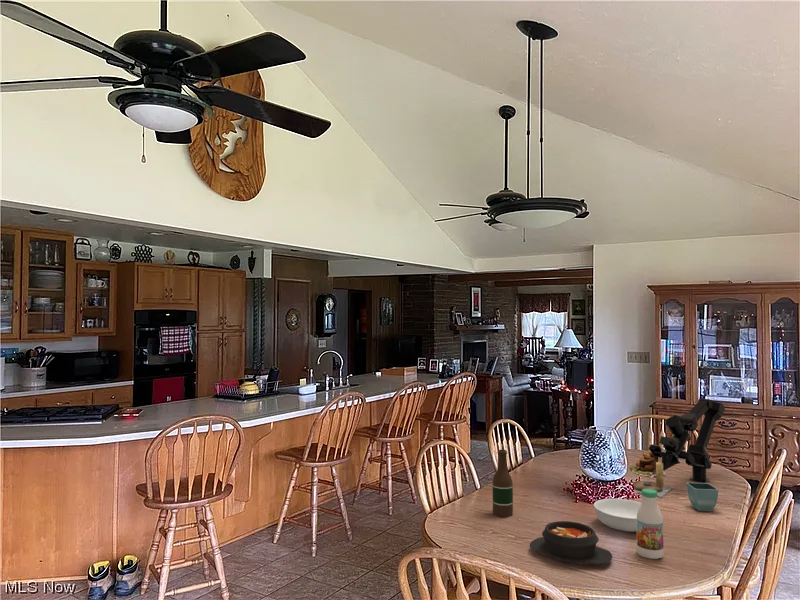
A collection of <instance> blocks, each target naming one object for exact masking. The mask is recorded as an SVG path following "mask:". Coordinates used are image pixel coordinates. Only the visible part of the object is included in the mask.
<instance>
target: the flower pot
mask: <svg viewBox="0 0 800 600" xmlns="http://www.w3.org/2000/svg"><path fill="white" fill-rule="evenodd" d="M686 491H687V497H688V499H689V502H690V503H691V506H692V507H693V508H694V509H696V510H697V511H699V512H700V511H703V512H712V511H714V508H716V505H717V503H718V496H719V489H718V488H717V487H715V486H714V485H712V484H711V483H707V482H706V483H704V482H686Z"/></svg>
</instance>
